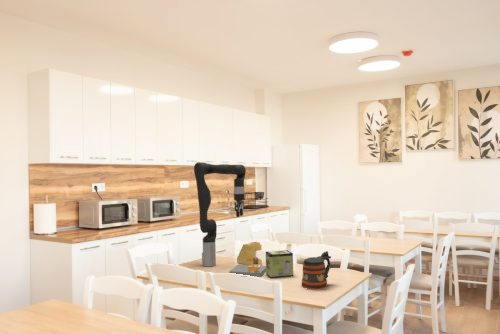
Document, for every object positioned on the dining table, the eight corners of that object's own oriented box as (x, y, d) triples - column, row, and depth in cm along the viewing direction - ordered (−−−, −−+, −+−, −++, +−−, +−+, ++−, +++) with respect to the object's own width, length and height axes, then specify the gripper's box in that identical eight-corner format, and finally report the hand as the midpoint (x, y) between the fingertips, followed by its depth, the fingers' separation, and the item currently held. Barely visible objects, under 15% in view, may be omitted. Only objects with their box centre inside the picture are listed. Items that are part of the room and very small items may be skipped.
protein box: (265, 275, 274) (265, 251, 274) (288, 273, 278) (287, 249, 278) (270, 279, 264) (269, 254, 264) (293, 277, 267) (293, 252, 268)
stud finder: (248, 271, 271) (247, 266, 271) (249, 269, 275) (249, 265, 275) (257, 271, 270) (257, 266, 270) (258, 270, 274) (258, 265, 274)
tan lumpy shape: (264, 265, 303) (264, 242, 303) (254, 267, 297) (254, 244, 298) (246, 260, 319) (246, 239, 319) (237, 262, 313) (236, 241, 313)
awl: (253, 273, 279) (252, 258, 279) (254, 272, 282) (253, 257, 282) (257, 273, 278) (257, 258, 278) (258, 272, 281) (258, 257, 282)
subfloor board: (229, 276, 274) (229, 271, 274) (237, 269, 292) (237, 264, 292) (260, 277, 268) (260, 272, 268) (267, 270, 287) (267, 265, 287)
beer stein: (320, 281, 256) (319, 248, 256) (338, 287, 244) (337, 252, 244) (296, 287, 245) (295, 252, 245) (313, 293, 233) (313, 256, 233)
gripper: (241, 193, 288) (241, 217, 287) (247, 192, 301) (247, 215, 301) (231, 193, 289) (231, 217, 289) (237, 192, 303) (237, 215, 303)
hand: (239, 216), depth 295 cm, fingers open, 8 cm apart
